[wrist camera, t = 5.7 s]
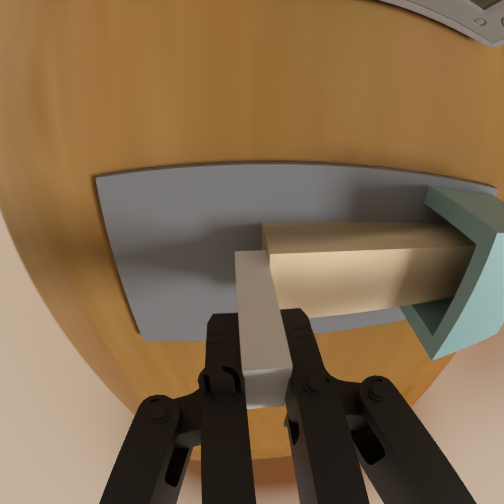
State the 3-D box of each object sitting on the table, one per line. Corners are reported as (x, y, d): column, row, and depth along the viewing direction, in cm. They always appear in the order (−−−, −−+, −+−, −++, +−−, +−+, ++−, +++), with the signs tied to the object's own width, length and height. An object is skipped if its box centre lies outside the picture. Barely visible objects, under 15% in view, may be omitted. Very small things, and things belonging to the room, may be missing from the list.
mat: (100, 174, 12) (95, 178, 12) (493, 186, 14) (498, 189, 13) (144, 334, 18) (143, 340, 18) (449, 304, 20) (452, 308, 20)
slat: (262, 222, 14) (270, 254, 11) (457, 223, 15) (483, 245, 12) (260, 284, 16) (266, 321, 13) (440, 270, 17) (462, 294, 14)
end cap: (428, 185, 13) (497, 232, 8) (493, 195, 14) (546, 233, 9) (393, 299, 18) (431, 360, 13) (460, 287, 18) (496, 333, 13)
